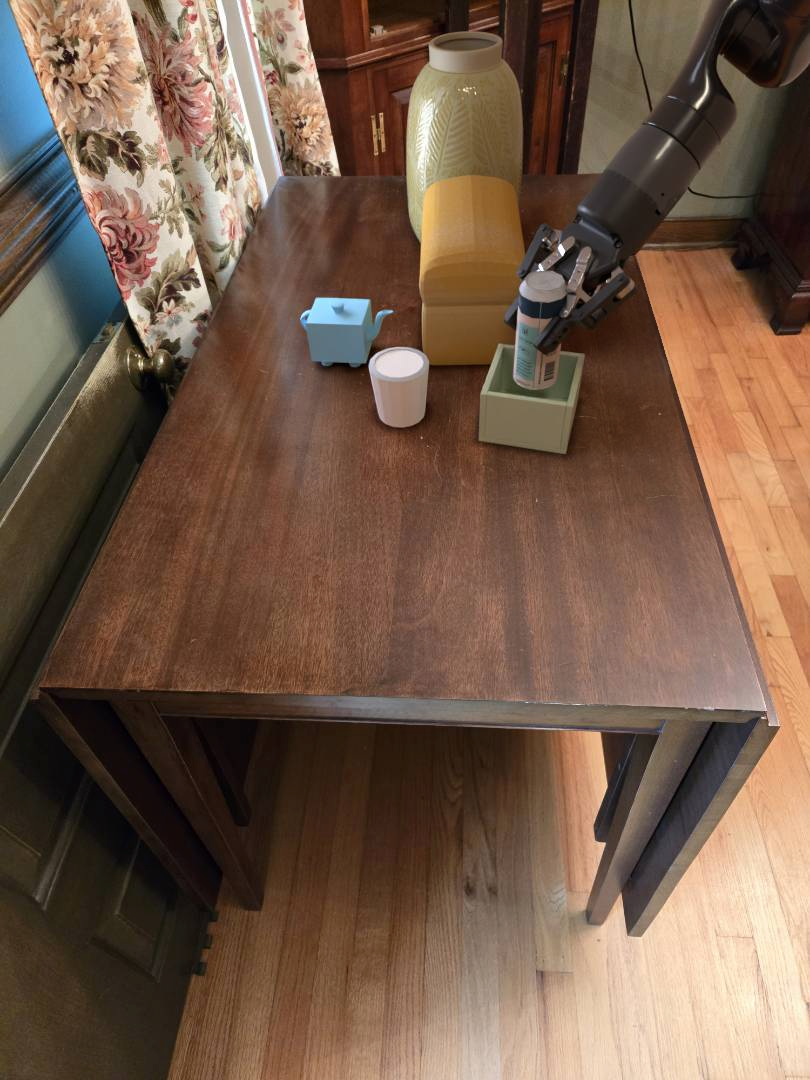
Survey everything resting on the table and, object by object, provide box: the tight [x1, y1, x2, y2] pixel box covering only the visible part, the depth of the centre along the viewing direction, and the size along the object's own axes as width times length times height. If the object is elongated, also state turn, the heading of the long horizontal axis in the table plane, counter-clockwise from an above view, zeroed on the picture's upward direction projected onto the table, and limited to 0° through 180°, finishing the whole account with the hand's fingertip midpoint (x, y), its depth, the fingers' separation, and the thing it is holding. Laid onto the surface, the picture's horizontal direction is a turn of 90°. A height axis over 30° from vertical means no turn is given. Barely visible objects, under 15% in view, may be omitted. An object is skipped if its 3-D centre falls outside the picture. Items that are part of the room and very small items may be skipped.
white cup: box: [368, 346, 430, 428], centre depth 84 cm, size 7×7×7 cm
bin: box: [478, 343, 586, 455], centre depth 82 cm, size 10×10×7 cm
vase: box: [405, 30, 524, 245], centre depth 105 cm, size 17×17×27 cm
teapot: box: [300, 297, 394, 368], centre depth 93 cm, size 12×6×8 cm, turn 82°
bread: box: [418, 175, 526, 366], centre depth 95 cm, size 24×13×15 cm, turn 178°
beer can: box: [513, 270, 568, 390], centre depth 76 cm, size 5×5×12 cm
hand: (524, 337), depth 76 cm, fingers closed on beer can, 4 cm apart
